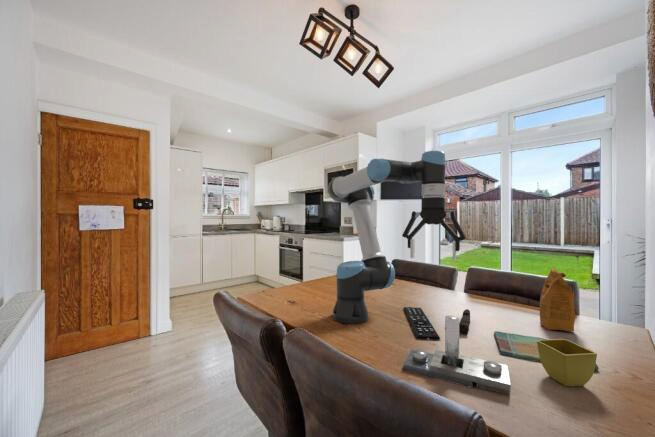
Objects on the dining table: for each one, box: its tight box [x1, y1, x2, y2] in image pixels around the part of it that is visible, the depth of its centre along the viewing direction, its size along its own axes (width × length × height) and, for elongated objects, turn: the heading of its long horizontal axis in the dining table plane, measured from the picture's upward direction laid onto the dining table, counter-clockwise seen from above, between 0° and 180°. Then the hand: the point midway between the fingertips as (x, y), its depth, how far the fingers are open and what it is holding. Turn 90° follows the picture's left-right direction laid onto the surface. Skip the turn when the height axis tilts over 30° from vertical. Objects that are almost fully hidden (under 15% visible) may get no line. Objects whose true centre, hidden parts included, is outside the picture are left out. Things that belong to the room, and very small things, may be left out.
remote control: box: [403, 306, 441, 341], centre depth 112 cm, size 8×32×2 cm, turn 173°
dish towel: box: [493, 330, 600, 372], centre depth 88 cm, size 17×23×2 cm
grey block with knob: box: [430, 349, 511, 396], centre depth 74 cm, size 18×10×4 cm, turn 61°
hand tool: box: [459, 308, 471, 336], centre depth 108 cm, size 19×4×5 cm, turn 146°
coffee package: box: [539, 267, 576, 332], centre depth 107 cm, size 10×12×22 cm
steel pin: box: [444, 315, 460, 368], centre depth 76 cm, size 4×4×15 cm
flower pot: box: [537, 338, 598, 387], centre depth 72 cm, size 9×9×9 cm
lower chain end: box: [403, 348, 473, 388], centre depth 78 cm, size 17×10×4 cm, turn 61°
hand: (432, 259), depth 95 cm, fingers open, 13 cm apart
